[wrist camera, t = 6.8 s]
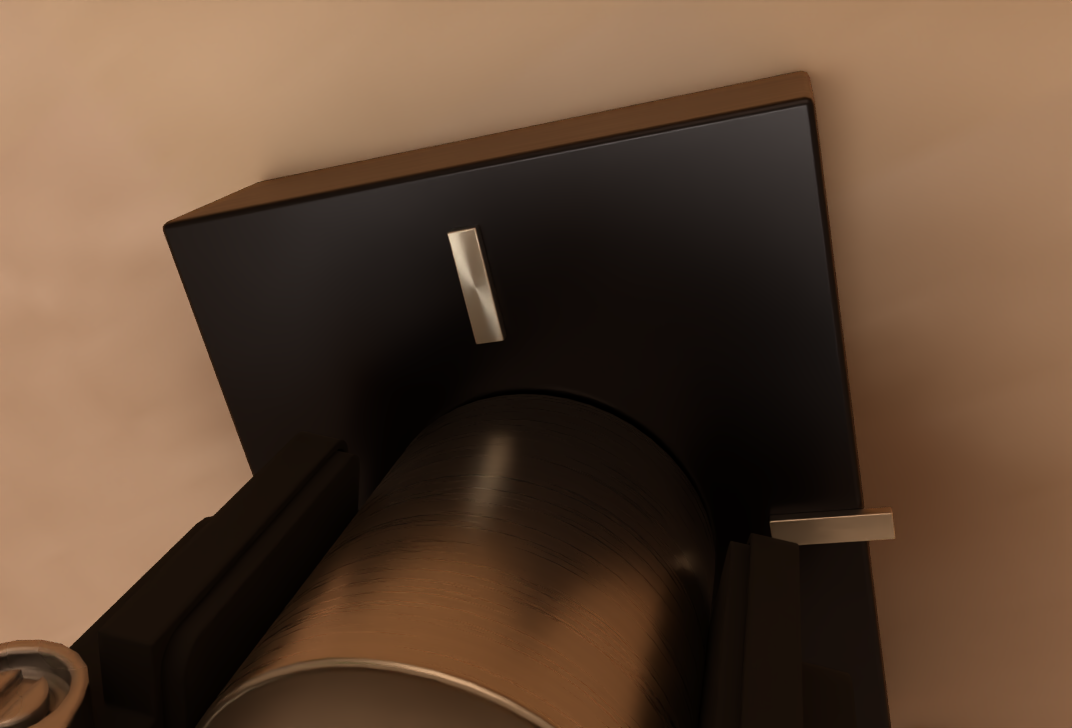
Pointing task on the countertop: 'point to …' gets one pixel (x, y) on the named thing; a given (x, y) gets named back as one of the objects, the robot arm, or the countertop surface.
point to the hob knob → (499, 587)
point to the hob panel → (572, 316)
